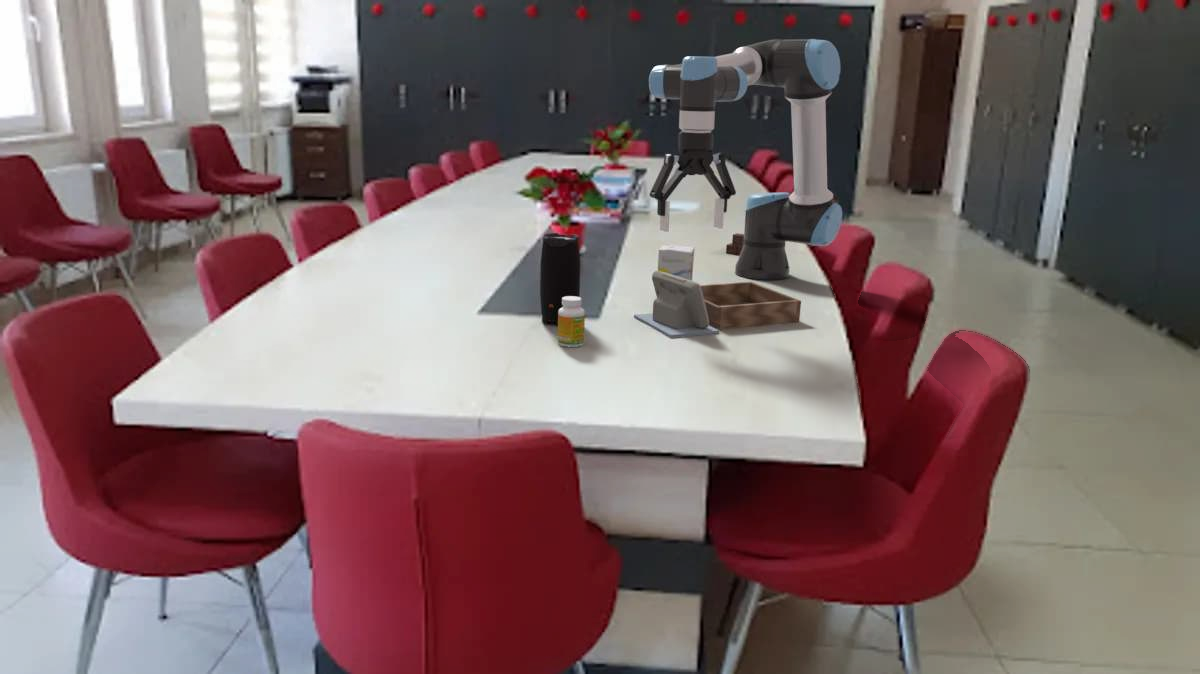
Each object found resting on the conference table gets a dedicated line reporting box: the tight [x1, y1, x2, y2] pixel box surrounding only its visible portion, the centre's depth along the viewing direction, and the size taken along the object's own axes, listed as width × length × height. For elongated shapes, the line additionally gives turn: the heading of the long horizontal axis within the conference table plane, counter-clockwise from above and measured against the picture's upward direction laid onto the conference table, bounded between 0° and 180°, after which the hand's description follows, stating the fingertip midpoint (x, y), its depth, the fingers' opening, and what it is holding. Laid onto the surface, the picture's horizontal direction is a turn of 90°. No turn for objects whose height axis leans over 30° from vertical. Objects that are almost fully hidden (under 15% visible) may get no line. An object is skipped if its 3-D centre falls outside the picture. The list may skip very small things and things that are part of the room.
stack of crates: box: [725, 232, 744, 256], centre depth 296 cm, size 15×15×7 cm
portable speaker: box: [539, 232, 581, 324], centre depth 205 cm, size 9×9×20 cm
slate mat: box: [633, 312, 720, 339], centre depth 208 cm, size 12×18×1 cm, turn 23°
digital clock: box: [651, 270, 709, 329], centre depth 207 cm, size 16×9×11 cm, turn 22°
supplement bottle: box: [557, 296, 586, 348], centre depth 190 cm, size 5×5×10 cm
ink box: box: [657, 244, 695, 281], centre depth 238 cm, size 9×9×12 cm
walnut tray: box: [700, 281, 802, 330], centre depth 219 cm, size 22×21×5 cm
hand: (691, 229), depth 207 cm, fingers open, 13 cm apart
